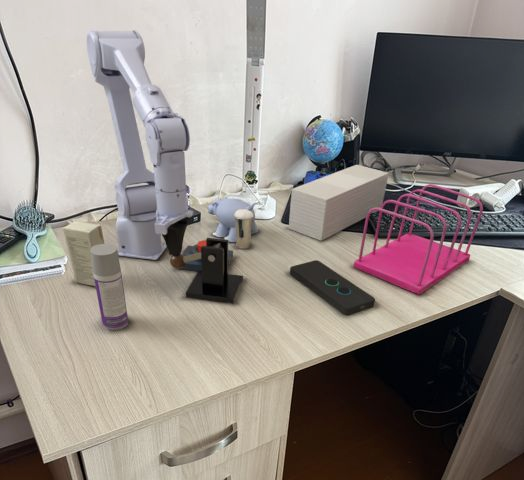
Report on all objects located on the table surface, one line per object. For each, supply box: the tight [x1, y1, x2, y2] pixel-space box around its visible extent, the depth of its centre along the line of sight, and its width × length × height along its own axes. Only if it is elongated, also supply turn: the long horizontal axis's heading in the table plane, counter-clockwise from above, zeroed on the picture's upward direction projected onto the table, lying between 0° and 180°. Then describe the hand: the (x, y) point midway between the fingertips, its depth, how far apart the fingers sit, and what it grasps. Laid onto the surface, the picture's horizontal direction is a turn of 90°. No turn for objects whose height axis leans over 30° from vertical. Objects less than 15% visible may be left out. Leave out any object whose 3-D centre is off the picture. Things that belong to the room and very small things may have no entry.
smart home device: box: [289, 259, 376, 316], centre depth 104 cm, size 8×2×20 cm
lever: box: [169, 243, 222, 270], centre depth 99 cm, size 12×3×3 cm, turn 81°
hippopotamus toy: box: [207, 197, 259, 243], centre depth 124 cm, size 11×15×10 cm
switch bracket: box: [185, 237, 244, 304], centre depth 99 cm, size 10×10×10 cm
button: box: [196, 239, 206, 252], centre depth 109 cm, size 4×4×2 cm
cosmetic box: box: [62, 220, 105, 287], centre depth 99 cm, size 6×4×12 cm
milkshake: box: [234, 209, 253, 250], centre depth 117 cm, size 4×5×10 cm
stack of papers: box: [287, 164, 390, 242], centre depth 134 cm, size 32×11×11 cm, turn 140°
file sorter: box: [352, 183, 484, 295], centre depth 112 cm, size 17×25×16 cm
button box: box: [179, 243, 234, 272], centre depth 111 cm, size 11×9×4 cm
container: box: [90, 243, 129, 331], centre depth 86 cm, size 5×5×15 cm
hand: (175, 253), depth 99 cm, fingers closed, pressing on lever
